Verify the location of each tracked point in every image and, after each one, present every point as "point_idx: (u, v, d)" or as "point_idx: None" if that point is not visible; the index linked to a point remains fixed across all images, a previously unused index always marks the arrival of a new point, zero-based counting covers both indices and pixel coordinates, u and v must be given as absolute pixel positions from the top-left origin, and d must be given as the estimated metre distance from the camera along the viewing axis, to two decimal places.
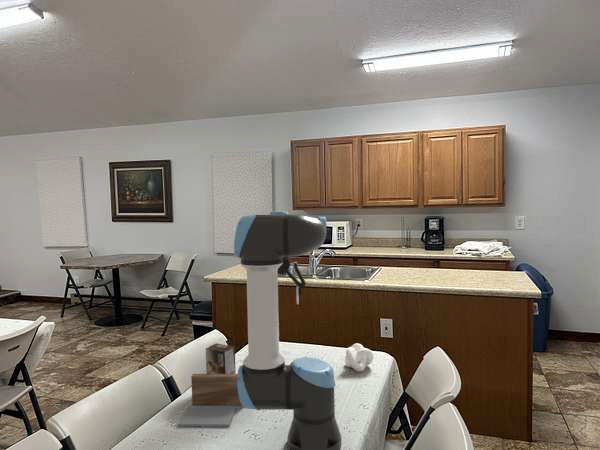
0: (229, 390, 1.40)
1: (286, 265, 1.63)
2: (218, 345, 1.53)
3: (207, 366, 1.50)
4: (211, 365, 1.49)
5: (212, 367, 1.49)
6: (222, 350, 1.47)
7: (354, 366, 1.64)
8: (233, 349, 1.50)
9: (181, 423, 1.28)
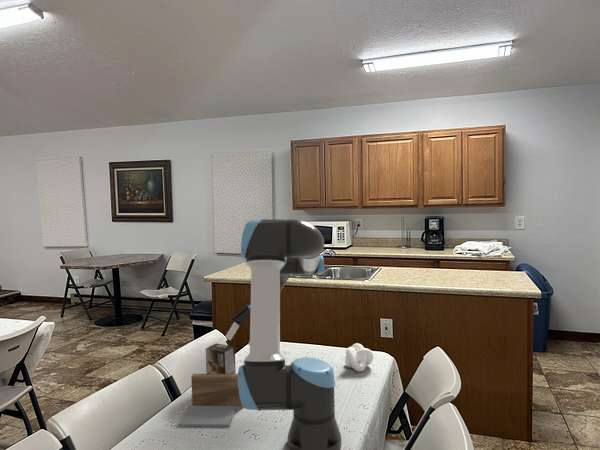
0: (229, 390, 1.40)
1: None
2: (218, 345, 1.53)
3: (207, 366, 1.50)
4: (211, 365, 1.49)
5: (212, 367, 1.49)
6: (222, 350, 1.47)
7: (354, 366, 1.64)
8: (233, 349, 1.50)
9: (181, 423, 1.28)
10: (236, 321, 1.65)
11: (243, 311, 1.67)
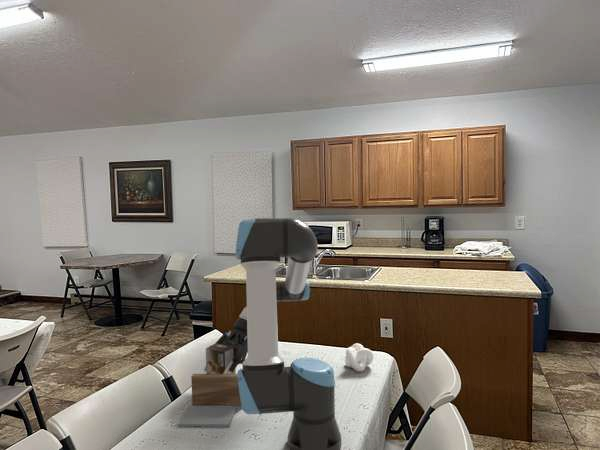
0: (229, 390, 1.40)
1: (241, 335, 1.54)
2: (218, 345, 1.53)
3: (207, 366, 1.50)
4: (211, 365, 1.49)
5: (212, 367, 1.49)
6: (222, 350, 1.47)
7: (354, 366, 1.64)
8: (233, 349, 1.50)
9: (181, 423, 1.28)
10: None
11: (222, 340, 1.59)
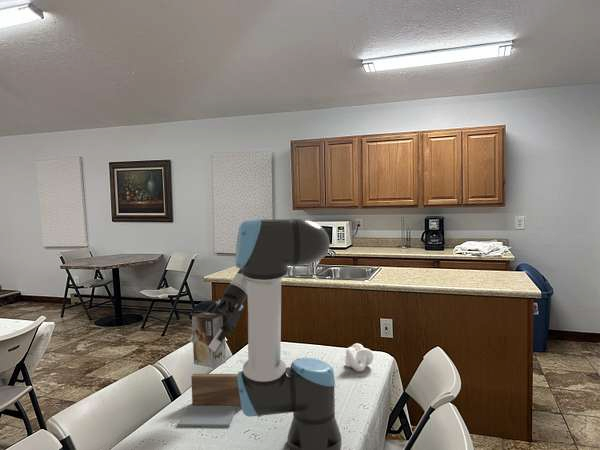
0: (229, 390, 1.40)
1: (232, 302, 1.40)
2: (206, 313, 1.38)
3: (194, 336, 1.35)
4: (198, 334, 1.34)
5: (199, 337, 1.34)
6: (210, 317, 1.33)
7: (354, 366, 1.64)
8: (222, 317, 1.36)
9: (181, 423, 1.28)
10: None
11: (211, 309, 1.44)
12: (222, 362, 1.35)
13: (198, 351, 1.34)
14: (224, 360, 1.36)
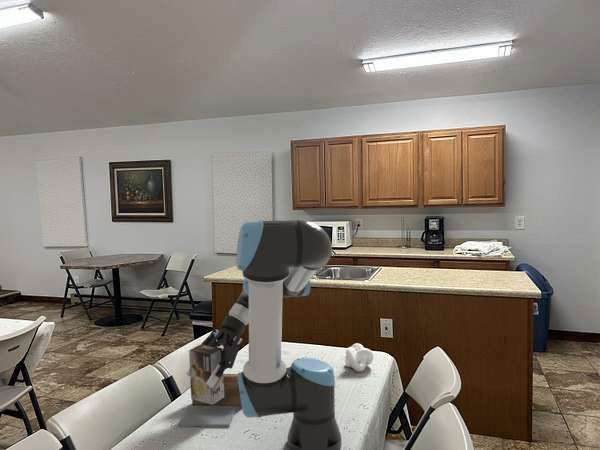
0: (229, 390, 1.40)
1: (230, 335, 1.36)
2: (204, 346, 1.34)
3: (191, 370, 1.31)
4: (195, 369, 1.30)
5: (196, 372, 1.30)
6: (208, 352, 1.29)
7: (354, 366, 1.64)
8: (221, 351, 1.32)
9: (181, 423, 1.28)
10: None
11: (208, 340, 1.40)
12: (220, 397, 1.31)
13: (195, 386, 1.31)
14: (222, 395, 1.32)
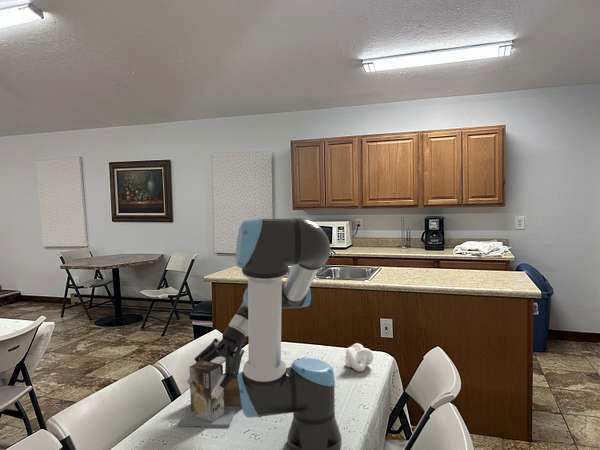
0: (229, 390, 1.40)
1: (230, 347, 1.35)
2: (204, 362, 1.34)
3: (191, 387, 1.31)
4: (195, 386, 1.30)
5: (196, 388, 1.30)
6: (208, 369, 1.29)
7: (354, 366, 1.64)
8: (221, 367, 1.32)
9: (181, 423, 1.28)
10: None
11: (209, 350, 1.40)
12: (220, 414, 1.31)
13: (195, 402, 1.31)
14: (222, 412, 1.32)
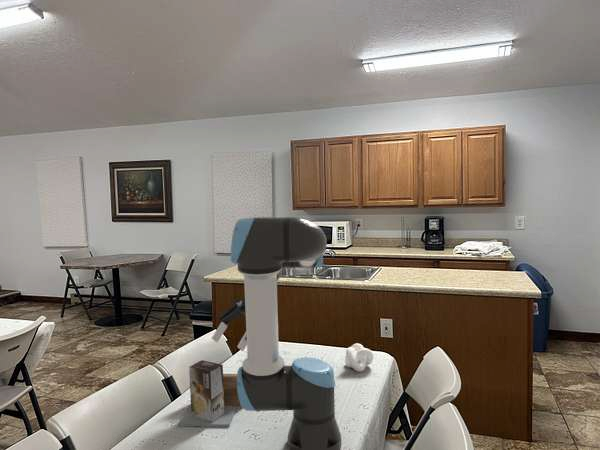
0: (229, 390, 1.40)
1: None
2: (204, 363, 1.34)
3: (191, 387, 1.31)
4: (195, 386, 1.30)
5: (196, 388, 1.30)
6: (208, 369, 1.28)
7: (354, 366, 1.64)
8: (221, 367, 1.32)
9: (181, 423, 1.28)
10: (224, 321, 1.47)
11: (232, 309, 1.49)
12: (220, 414, 1.31)
13: (195, 402, 1.31)
14: (222, 412, 1.32)
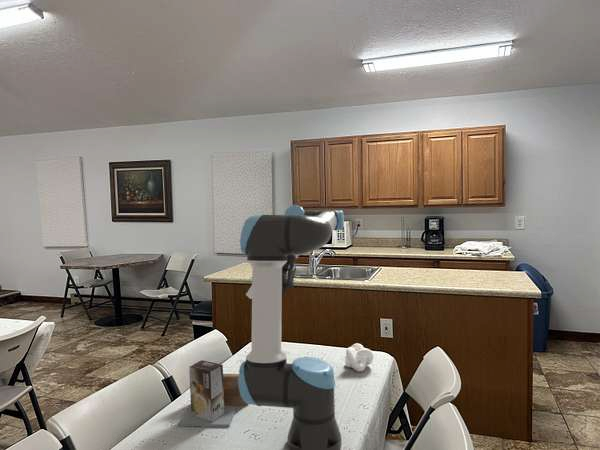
0: (229, 390, 1.40)
1: (284, 265, 1.57)
2: (204, 363, 1.34)
3: (191, 387, 1.31)
4: (195, 386, 1.30)
5: (196, 388, 1.30)
6: (208, 369, 1.29)
7: (354, 366, 1.64)
8: (221, 367, 1.32)
9: (181, 423, 1.28)
10: None
11: None
12: (220, 414, 1.31)
13: (195, 402, 1.31)
14: (222, 412, 1.32)
